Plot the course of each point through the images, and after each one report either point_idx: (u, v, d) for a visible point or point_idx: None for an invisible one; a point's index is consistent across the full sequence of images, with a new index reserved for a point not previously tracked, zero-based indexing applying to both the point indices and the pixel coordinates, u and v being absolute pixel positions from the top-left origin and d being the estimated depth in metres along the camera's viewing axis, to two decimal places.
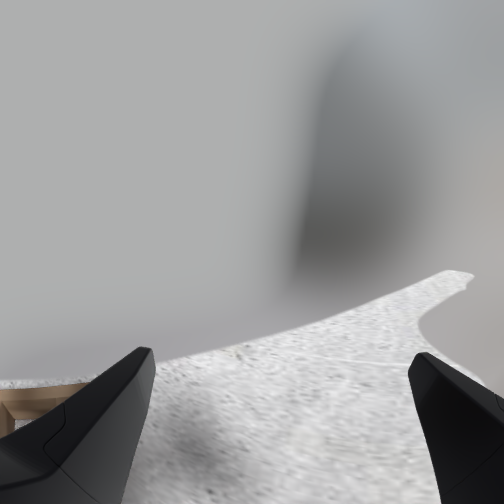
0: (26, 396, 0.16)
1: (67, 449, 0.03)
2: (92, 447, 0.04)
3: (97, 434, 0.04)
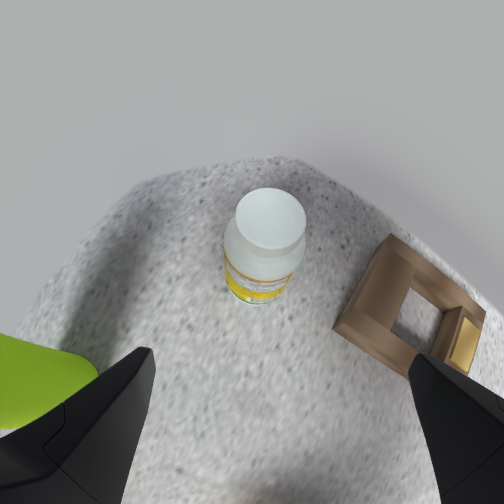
0: (441, 283, 0.22)
1: (67, 449, 0.03)
2: (92, 447, 0.04)
3: (97, 434, 0.04)
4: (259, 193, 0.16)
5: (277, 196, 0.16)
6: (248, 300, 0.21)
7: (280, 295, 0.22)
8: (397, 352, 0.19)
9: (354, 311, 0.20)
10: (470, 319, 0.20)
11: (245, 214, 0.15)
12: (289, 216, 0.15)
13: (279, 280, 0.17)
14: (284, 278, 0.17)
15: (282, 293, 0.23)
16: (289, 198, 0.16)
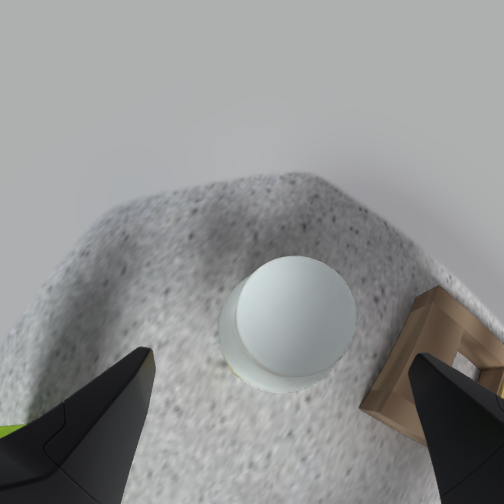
0: (487, 343, 0.15)
1: (67, 449, 0.03)
2: (92, 447, 0.04)
3: (97, 434, 0.04)
4: (279, 268, 0.09)
5: (310, 273, 0.09)
6: None
7: None
8: None
9: (391, 397, 0.13)
10: None
11: (254, 312, 0.09)
12: (330, 312, 0.09)
13: None
14: None
15: None
16: (330, 276, 0.09)
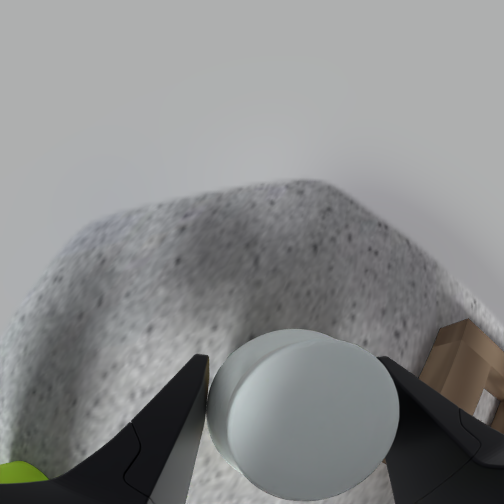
0: None
1: (153, 475, 0.03)
2: (171, 467, 0.04)
3: (176, 452, 0.04)
4: (293, 362, 0.06)
5: (340, 366, 0.06)
6: None
7: None
8: None
9: None
10: None
11: (255, 430, 0.05)
12: (365, 419, 0.05)
13: None
14: None
15: None
16: (368, 367, 0.06)
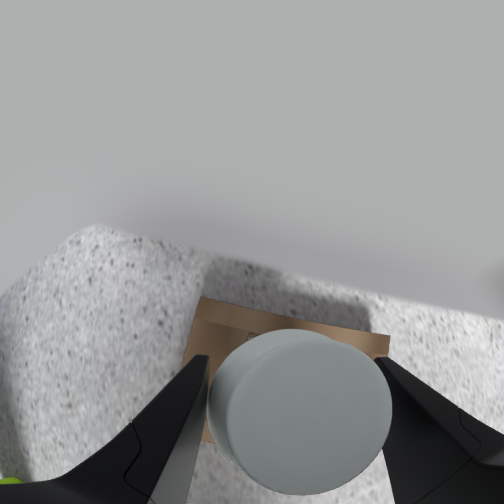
0: None
1: (154, 476, 0.03)
2: (172, 467, 0.04)
3: (176, 453, 0.04)
4: (289, 361, 0.06)
5: (334, 365, 0.06)
6: None
7: None
8: None
9: None
10: None
11: (252, 426, 0.05)
12: (358, 416, 0.05)
13: None
14: None
15: None
16: (361, 366, 0.06)
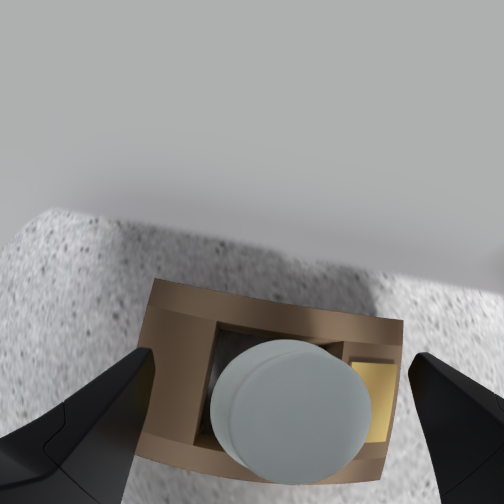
0: (281, 323, 0.14)
1: (67, 449, 0.03)
2: (92, 447, 0.04)
3: (97, 434, 0.04)
4: (281, 370, 0.07)
5: (320, 374, 0.07)
6: None
7: None
8: (219, 469, 0.10)
9: None
10: (369, 355, 0.13)
11: (250, 424, 0.06)
12: (341, 418, 0.06)
13: None
14: None
15: None
16: (344, 375, 0.07)
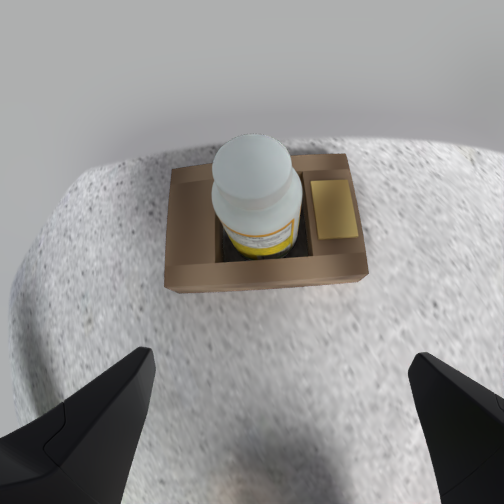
0: None
1: (67, 449, 0.03)
2: (92, 447, 0.04)
3: (97, 434, 0.04)
4: (233, 143, 0.14)
5: (253, 141, 0.14)
6: (259, 259, 0.20)
7: (292, 245, 0.21)
8: (237, 277, 0.19)
9: (167, 270, 0.19)
10: (324, 177, 0.20)
11: (223, 169, 0.14)
12: (271, 158, 0.13)
13: (281, 229, 0.16)
14: (286, 226, 0.16)
15: (294, 242, 0.21)
16: (266, 140, 0.14)
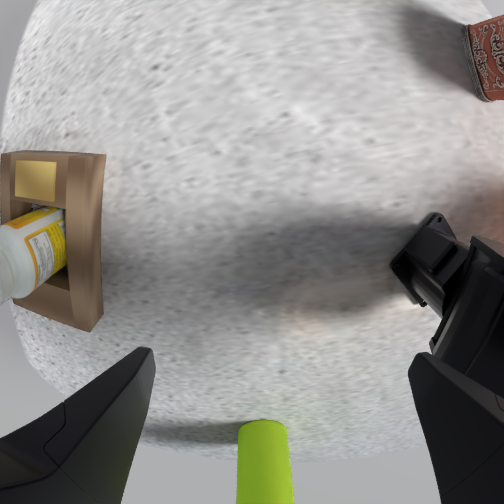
0: None
1: (67, 449, 0.03)
2: (92, 447, 0.04)
3: (97, 434, 0.04)
4: None
5: None
6: None
7: (64, 216, 0.18)
8: (79, 277, 0.18)
9: (78, 326, 0.20)
10: (14, 180, 0.15)
11: None
12: None
13: (32, 250, 0.14)
14: (29, 246, 0.14)
15: (63, 213, 0.18)
16: None
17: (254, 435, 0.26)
